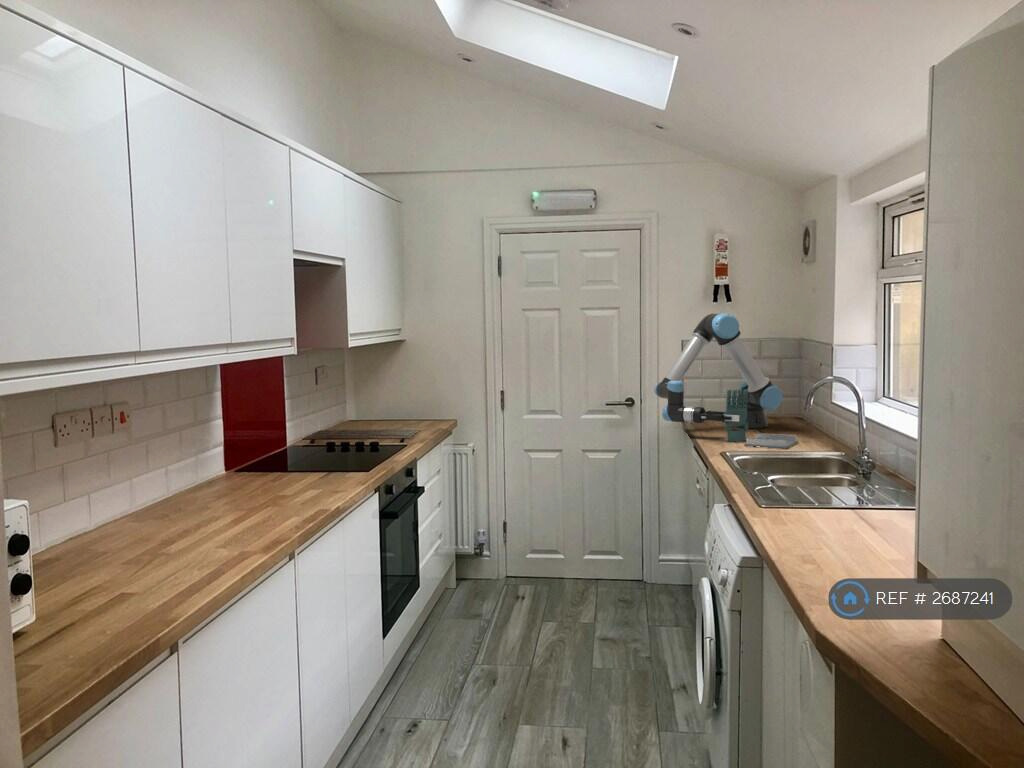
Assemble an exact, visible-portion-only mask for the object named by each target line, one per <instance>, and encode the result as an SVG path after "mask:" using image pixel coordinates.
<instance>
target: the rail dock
mask: <svg viewBox="0 0 1024 768" xmlns="http://www.w3.org/2000/svg"><path fill="white" fill-rule="evenodd" d="M756 437H757V438H755V437H754V438H753V437H747V438H746V441H745V443H744V445H743V447H744V446H760V447H768V448H767V449H772V448H782V449H781V450H788V449H790V448H791V447H790V446H792V447H793V446H795V445H797V444H799V440H797V434H796V435H794V434H778V433H763V432H760V433H759V432H757V433H756ZM796 443H797V444H796ZM794 444H795V445H794ZM789 447H790V448H789ZM787 448H788V449H787Z"/></svg>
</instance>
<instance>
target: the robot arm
mask: <svg viewBox="0 0 1024 768" xmlns="http://www.w3.org/2000/svg"><path fill="white" fill-rule="evenodd" d="M739 323H740V322H739V321H738V319H737V317H735V316H734V315H733V314H730V313H725V312H723V313H710V314H707V315H705V316H704V317H703V318H702V319H701V320H700V322H699V323H698V324H697V325H696V326H695V328H694V330H693V331H692V333H691V335H692V336H691V338H690V339H689V341H688V342H687V344H686V345H685V346H684V348H683V350H682V351H681V353H680V354H679V355H678V357H677V359H676V360H675V362H674V363H673V364H672V366H671V368H670V369H669V371H668V372H667V373H666V375H665V376H664V377H663V379H662V381H661V382H658V383H656V384H655V386H654V391H653V392H654V394H655V395H656V397H659V398H661V399H666V400H667V405H664V406H663V408H662V412H661V415H662V419H663V420H664V421H666V422H672V423H688V424H691V423H695V424H704V422H705V421H712V422H722V423H725V422H724V420H725V421H738V422H739V415H725V416H724V415H723V414H724V413H725V411H718V410H716V411H715V410H707V411H706V409H705V408H704V407H703V406H689V405H688V406H685V405H684V404H685V402H684V400H685V399H684V397H685V396H684V395H685V394H684V391H685V390H684V389H685V388H684V382H683V381H682V380H683V378H684V377H685V376H686V374H687V373H688V372H689V370H690V368H691V366H692V365H693V364H694V362H695V361H696V359H697V358H698V356H699V355H700V353H701V352H702V350H703V349H704V348H705V346H706V345H709V344H710V342H711V341H712V340H713V339H715V341H716V343H717V344H718V345H719V346H720V347H723V348H724V349H725V351H726V352H727V354H728V355H729V358H730V359H731V360H732V362H733V364H734V365H735V367H736V368H737V370H738V371H739V373H740V375H741V377H742V378H743V380H744V381H742V382H740V385H739V389H742V394H741V395H742V399H743V395H744V394H743V391H744V390H748V395H747V396H748V399H747V419H746V422H748V429H750V428H756V429H764V428H763V427H766V428H768V427H767V426H769V424H768V423H769V422H768V419H767V416H766V413H765V410H769V411H770V410H771V411H772V410H775V409H777V408H778V407H779V406H780V405H781V403H782V400H783V391H782V390H781V389H780V387H777V386H776V385H774V384H773V382H772V381H771V379H770V378H769V377H767V376H764V374H763V372H762V371H761V369H760V367H759V366H758V364H757V362H756V361H755V359H754V358H753V357H752V355H751V353H750V352H749V350H748V348H747V347H746V345H745V343H744V341H742V339H741V334H742V333H741V331H740V328H739V327H740V324H739ZM742 399H741V400H742ZM742 404H743V403H742ZM718 417H719V420H718ZM736 427H737V428H739V427H741V428H740V429H744V425H736Z"/></svg>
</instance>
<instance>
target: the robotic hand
mask: <svg viewBox="0 0 1024 768" xmlns="http://www.w3.org/2000/svg"><path fill="white" fill-rule="evenodd" d="M741 394H742V389H740V388H739V389H738V388H737V389H727V390H726V395H725V397H726V399H725V410H724V412H725V413H724V414H723V415H724V416H725V415H739V422H738V421H725V420H724V422H723V423H724V431H725V432H727V442H732V441H736V442H737V443H739V442H740V441H742V442H746V441H745V440H746V437H747V436H746V432H748V431H749V428H748V422H746V419H747V399H748V396H747V395H748V390H744V391H743V394H744V395H743V399H742V395H741ZM741 399H742V400H741ZM742 403H743V404H742ZM718 420H719V417H718ZM737 425H744V428H729V426H737ZM740 443H741V442H740Z"/></svg>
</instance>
